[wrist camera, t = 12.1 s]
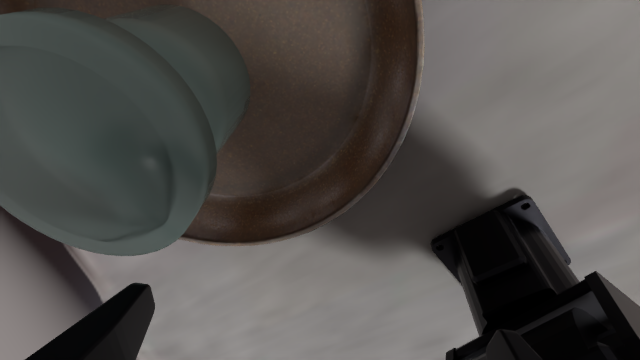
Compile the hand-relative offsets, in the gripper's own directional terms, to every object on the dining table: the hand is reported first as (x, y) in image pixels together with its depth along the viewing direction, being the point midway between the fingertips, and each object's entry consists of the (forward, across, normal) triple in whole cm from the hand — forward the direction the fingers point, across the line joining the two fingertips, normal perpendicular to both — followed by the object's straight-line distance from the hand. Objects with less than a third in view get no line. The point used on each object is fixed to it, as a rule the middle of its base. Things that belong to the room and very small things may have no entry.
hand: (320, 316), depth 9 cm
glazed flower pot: (+9, +7, -3) cm, 12 cm away
